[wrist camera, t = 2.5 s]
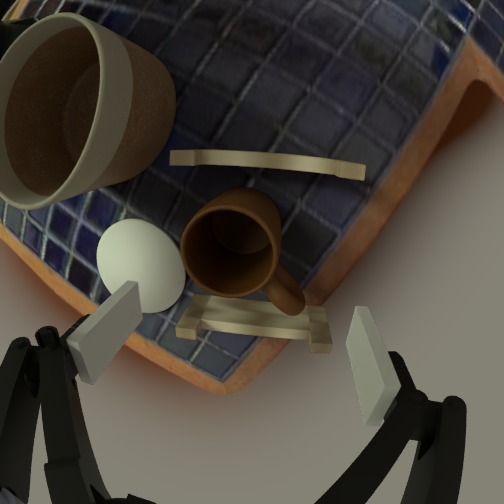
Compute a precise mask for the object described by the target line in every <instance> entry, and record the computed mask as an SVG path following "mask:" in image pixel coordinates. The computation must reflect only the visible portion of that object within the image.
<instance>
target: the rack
mask: <svg viewBox="0 0 504 504" xmlns="http://www.w3.org/2000/svg"><path fill="white" fill-rule="evenodd" d="M200 164H210V165H232V166H249V167H264V168H276V169H287V170H298V171H307V172H316V173H325V174H333V175H336V176H338V177H342V178H349V179H356V180H363V181H364V177H365V168H366V165H363V164H358V163H354V162H349V161H344V160H336V159H329V158H321V157H312V156H303V155H293V154H283V153H270V152H256V151H239V150H213V149H188V150H170V165H180V166H195V165H200ZM200 329H208V330H215V331H222V332H230V333H238V334H247V335H256V336H265V337H276V338H287V339H300V340H308V341H309V352H310V353H327V354H329V353H330V351H331V347H332V340H331V335H330V330H329V325H328V321H327V316H326V311H325V307H323V306H310V305H305V309H304V310H303V311H302V312H301V313H300V314H299V315H297V316H289V315H287V314H285V313H283V312H281V311H280V310H279V309H278V308H276V307H275V305H274V304H273V303H272V302H266V301H256V300H246V299H237V298H224V297H219V296H212V295H203V294H196V293H195V294H194V296H193V298H192V299H191V301H190V303H189V304H188V306H187V308H186V310H185V311H184V313H183V315H182V317H181V318H180V320H179V322H178V324H177V325H176V337H181V338H187V339H193V340H196V338H197V336H198V334H199V332H200Z"/></svg>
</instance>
